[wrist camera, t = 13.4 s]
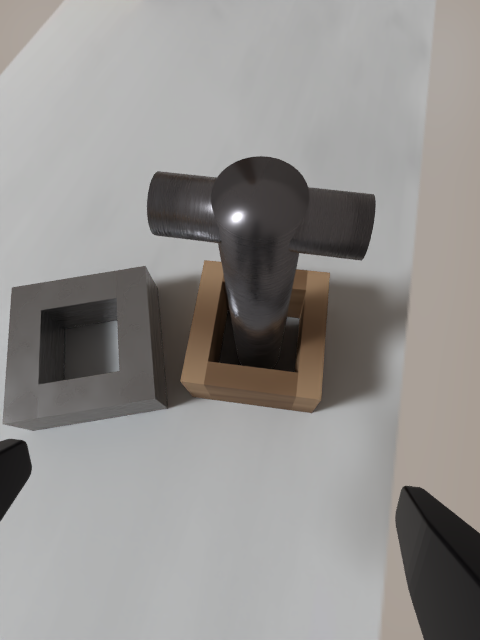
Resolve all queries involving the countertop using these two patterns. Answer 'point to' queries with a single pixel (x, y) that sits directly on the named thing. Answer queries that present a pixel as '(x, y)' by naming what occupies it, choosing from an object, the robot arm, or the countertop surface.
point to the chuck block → (49, 344)
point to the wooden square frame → (251, 382)
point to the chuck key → (260, 237)
